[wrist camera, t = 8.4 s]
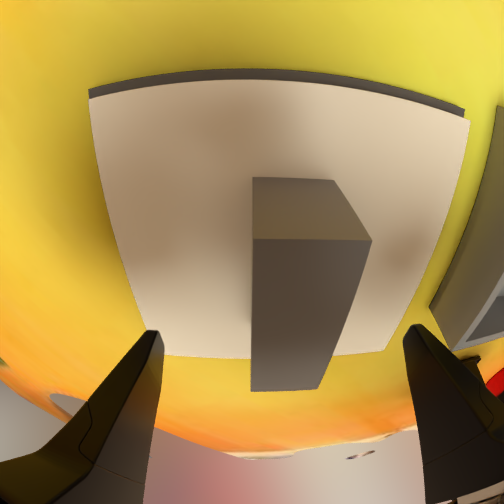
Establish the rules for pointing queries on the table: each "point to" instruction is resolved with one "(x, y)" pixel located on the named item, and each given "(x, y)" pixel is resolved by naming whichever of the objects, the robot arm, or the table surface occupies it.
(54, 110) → the table surface
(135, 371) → the robot arm
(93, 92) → the rubber mat
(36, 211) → the table surface
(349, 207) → the lid
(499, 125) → the storage box
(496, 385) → the soda can
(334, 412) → the table surface
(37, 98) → the table surface
